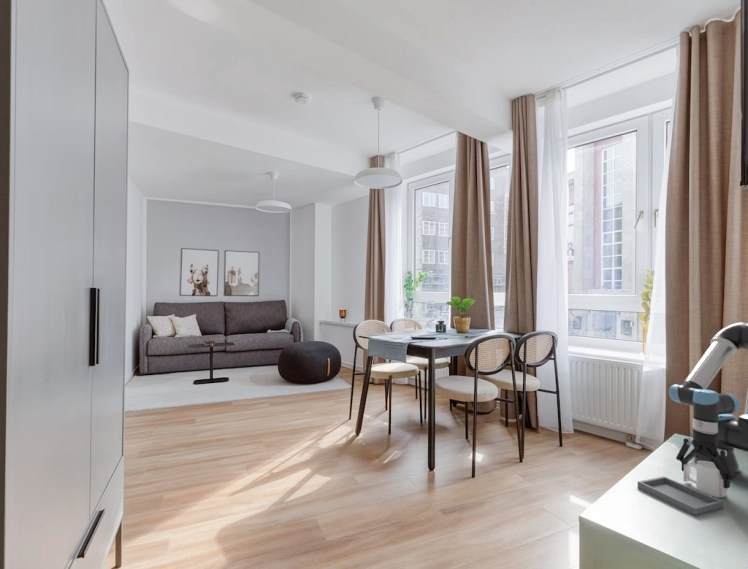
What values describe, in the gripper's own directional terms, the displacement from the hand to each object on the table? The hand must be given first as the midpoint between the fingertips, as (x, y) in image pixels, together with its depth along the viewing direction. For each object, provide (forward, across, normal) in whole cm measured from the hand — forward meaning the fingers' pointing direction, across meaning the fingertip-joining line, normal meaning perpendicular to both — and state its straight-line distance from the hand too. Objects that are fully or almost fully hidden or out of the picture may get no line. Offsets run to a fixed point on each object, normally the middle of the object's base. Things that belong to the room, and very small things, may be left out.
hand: (704, 488), depth 152 cm
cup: (+1, 0, 0) cm, 1 cm away
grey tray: (+1, +1, -16) cm, 16 cm away
